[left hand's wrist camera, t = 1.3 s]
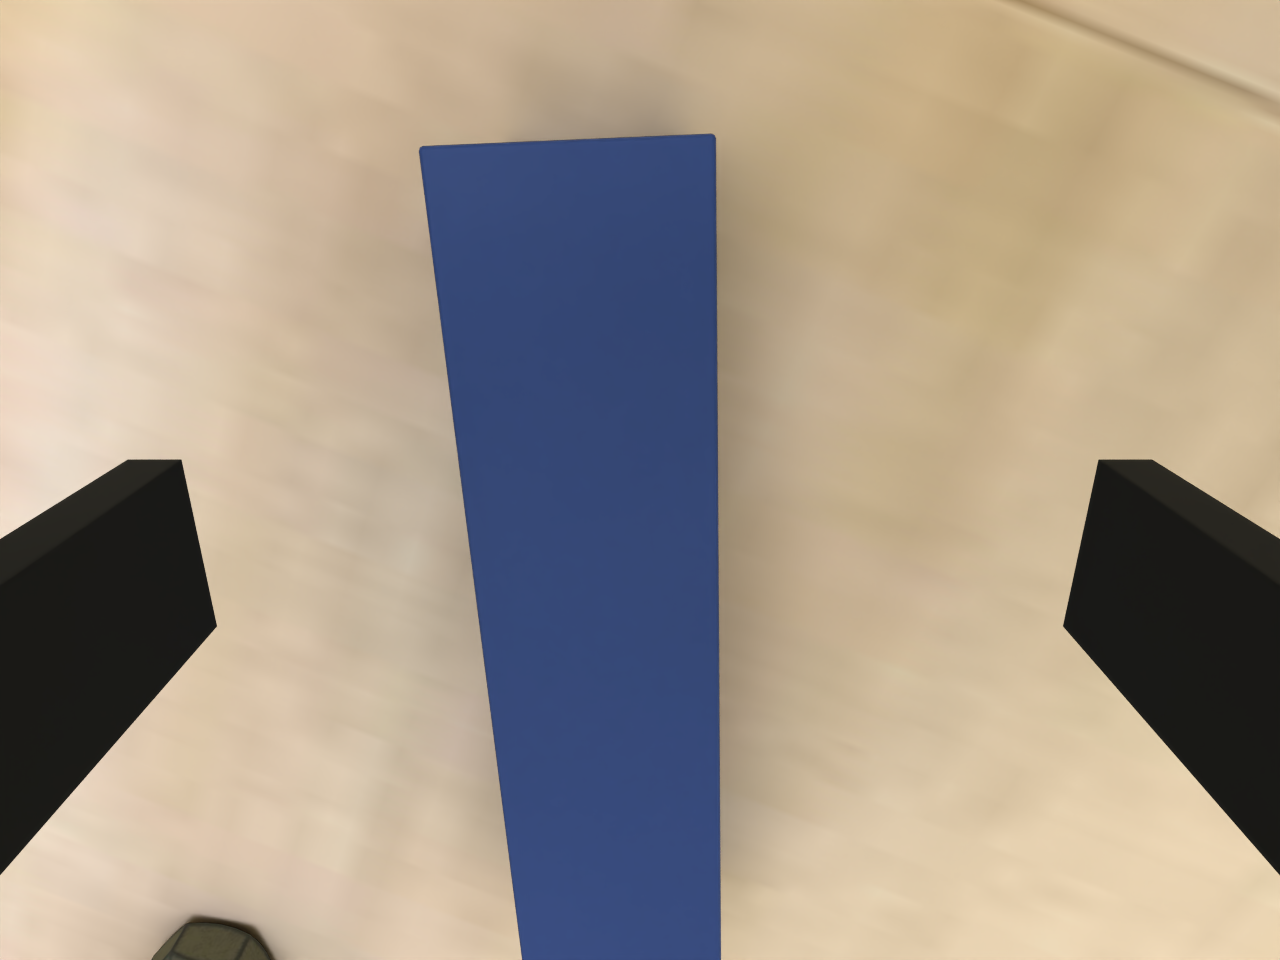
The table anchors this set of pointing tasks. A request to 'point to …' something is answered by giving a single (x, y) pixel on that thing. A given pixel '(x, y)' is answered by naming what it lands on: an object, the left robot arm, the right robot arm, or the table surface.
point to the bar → (592, 522)
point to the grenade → (211, 944)
